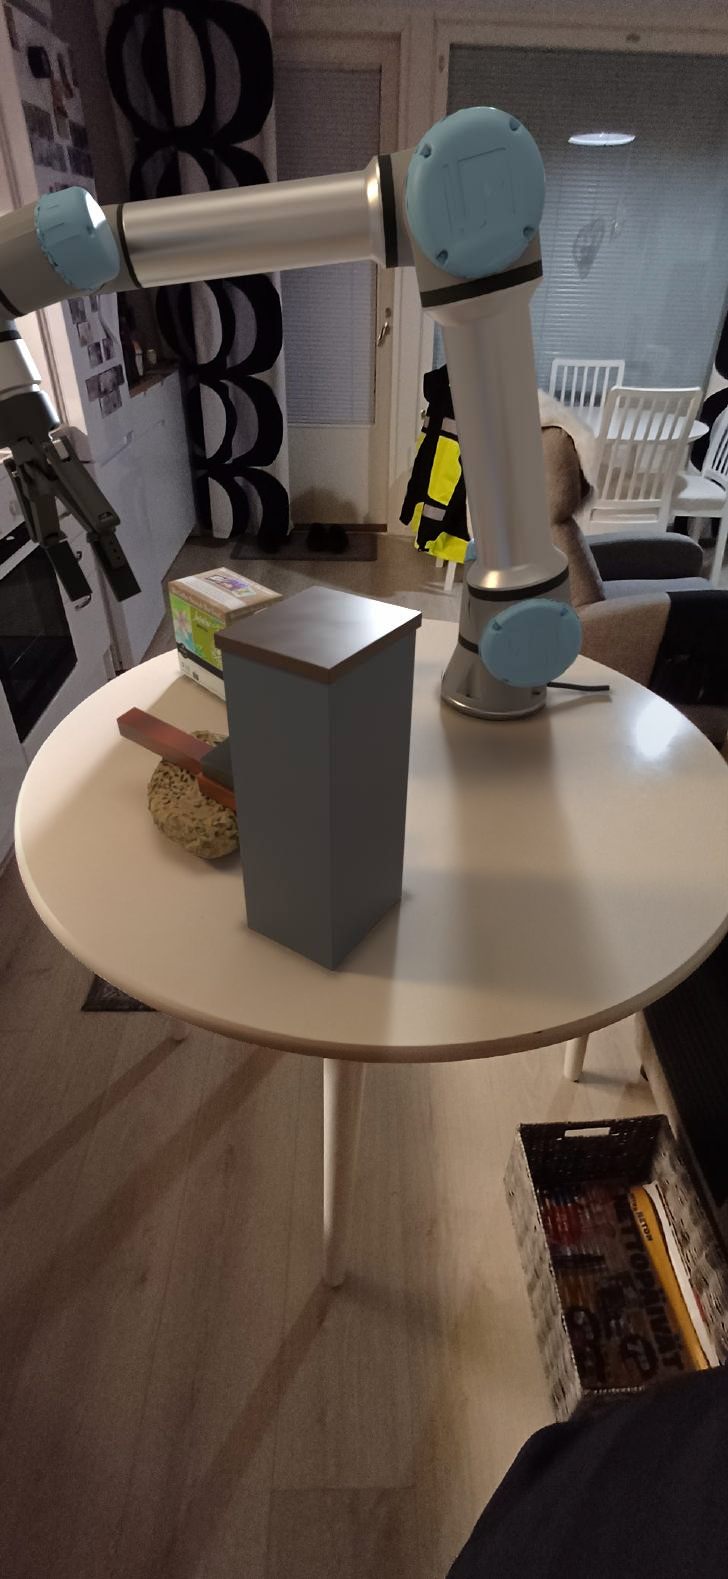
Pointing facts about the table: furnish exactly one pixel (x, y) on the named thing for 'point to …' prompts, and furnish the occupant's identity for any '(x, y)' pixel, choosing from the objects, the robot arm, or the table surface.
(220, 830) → the sponge
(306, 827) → the pedestal
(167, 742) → the brush
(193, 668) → the tea box
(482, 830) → the table surface
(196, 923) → the table surface
